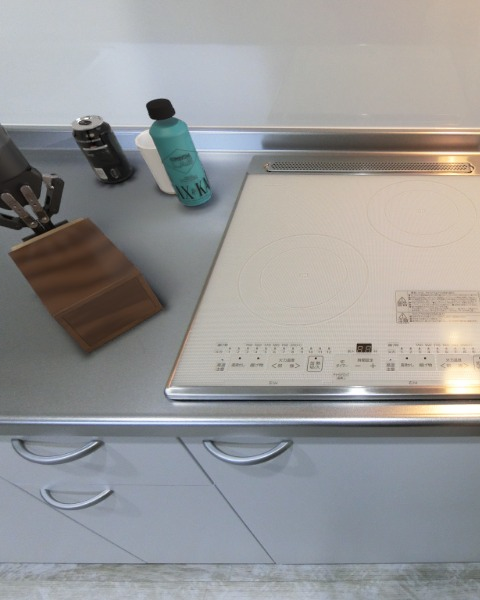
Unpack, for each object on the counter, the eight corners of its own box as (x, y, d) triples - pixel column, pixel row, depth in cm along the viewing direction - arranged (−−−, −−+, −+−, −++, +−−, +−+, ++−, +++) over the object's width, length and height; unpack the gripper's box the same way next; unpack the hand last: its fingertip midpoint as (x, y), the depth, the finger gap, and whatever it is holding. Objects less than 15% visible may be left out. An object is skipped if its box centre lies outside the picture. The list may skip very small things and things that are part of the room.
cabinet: (43, 292, 71) (7, 253, 64) (114, 256, 76) (88, 217, 70) (87, 353, 63) (51, 316, 56) (163, 308, 68) (139, 269, 62)
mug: (210, 184, 91) (192, 137, 83) (167, 201, 87) (145, 154, 79) (187, 162, 96) (169, 117, 88) (147, 178, 92) (123, 131, 84)
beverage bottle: (175, 203, 86) (127, 102, 71) (205, 189, 89) (166, 89, 74) (192, 217, 83) (146, 115, 68) (222, 202, 86) (185, 101, 71)
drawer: (28, 264, 73) (0, 233, 68) (91, 235, 78) (69, 204, 73) (78, 334, 64) (50, 304, 59) (146, 295, 69) (126, 264, 64)
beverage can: (114, 165, 95) (85, 111, 86) (141, 170, 94) (114, 116, 85) (92, 183, 91) (58, 128, 82) (120, 188, 90) (88, 133, 81)
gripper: (20, 116, 64) (84, 212, 77) (-90, 151, 58) (0, 249, 71) (38, 134, 61) (102, 231, 74) (-77, 172, 54) (16, 271, 67)
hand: (52, 239), depth 72 cm, fingers closed
